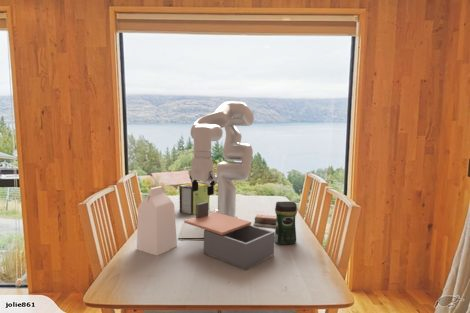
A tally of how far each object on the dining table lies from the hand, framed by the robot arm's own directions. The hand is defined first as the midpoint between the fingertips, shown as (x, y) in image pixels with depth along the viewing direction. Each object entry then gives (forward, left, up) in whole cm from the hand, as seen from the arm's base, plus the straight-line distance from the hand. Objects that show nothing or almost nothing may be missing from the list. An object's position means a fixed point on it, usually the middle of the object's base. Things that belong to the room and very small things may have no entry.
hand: (202, 192), depth 154 cm
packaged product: (+10, +41, -23) cm, 47 cm away
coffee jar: (+28, +24, -22) cm, 43 cm away
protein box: (-38, +30, -22) cm, 54 cm away
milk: (-8, -19, -22) cm, 30 cm away
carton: (+22, -1, -22) cm, 31 cm away
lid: (+10, -1, -12) cm, 15 cm away
